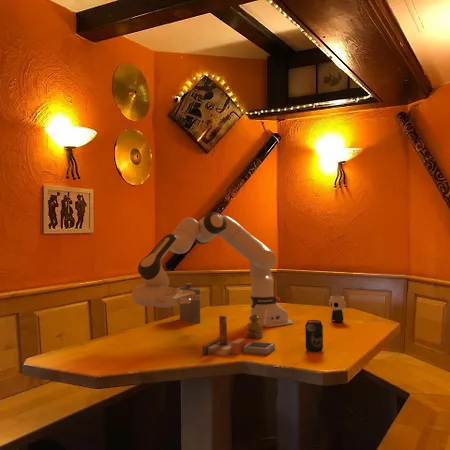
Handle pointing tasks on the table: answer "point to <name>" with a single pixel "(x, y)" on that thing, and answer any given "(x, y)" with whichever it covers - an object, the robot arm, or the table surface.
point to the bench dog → (237, 346)
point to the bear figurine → (337, 307)
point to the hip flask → (190, 307)
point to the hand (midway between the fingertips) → (195, 299)
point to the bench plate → (220, 349)
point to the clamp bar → (205, 347)
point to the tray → (259, 348)
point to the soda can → (314, 336)
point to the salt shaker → (254, 328)
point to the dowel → (223, 330)
